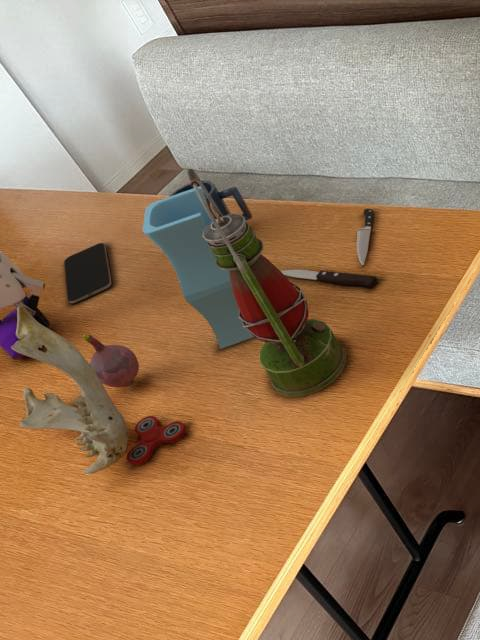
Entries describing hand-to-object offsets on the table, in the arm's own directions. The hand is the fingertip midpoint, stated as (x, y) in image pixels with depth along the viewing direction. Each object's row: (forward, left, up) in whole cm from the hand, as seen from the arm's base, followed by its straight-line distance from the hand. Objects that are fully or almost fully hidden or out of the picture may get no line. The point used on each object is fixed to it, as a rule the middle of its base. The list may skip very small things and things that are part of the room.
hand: (29, 336), depth 126 cm
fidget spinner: (+22, -35, +1) cm, 41 cm away
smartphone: (+8, +14, -1) cm, 16 cm away
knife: (+54, -6, 0) cm, 54 cm away
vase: (+35, -17, -1) cm, 39 cm away
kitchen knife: (+47, -14, 0) cm, 49 cm away
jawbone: (+17, -27, +2) cm, 32 cm away
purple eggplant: (0, 0, -1) cm, 1 cm away
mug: (+33, +9, -1) cm, 34 cm away
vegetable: (+18, -21, -1) cm, 27 cm away
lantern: (+43, -32, -1) cm, 53 cm away
